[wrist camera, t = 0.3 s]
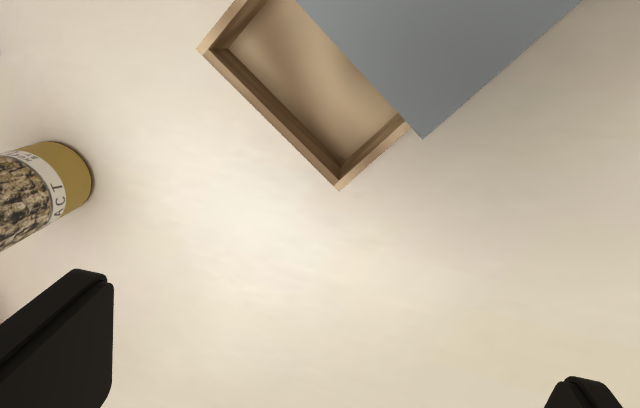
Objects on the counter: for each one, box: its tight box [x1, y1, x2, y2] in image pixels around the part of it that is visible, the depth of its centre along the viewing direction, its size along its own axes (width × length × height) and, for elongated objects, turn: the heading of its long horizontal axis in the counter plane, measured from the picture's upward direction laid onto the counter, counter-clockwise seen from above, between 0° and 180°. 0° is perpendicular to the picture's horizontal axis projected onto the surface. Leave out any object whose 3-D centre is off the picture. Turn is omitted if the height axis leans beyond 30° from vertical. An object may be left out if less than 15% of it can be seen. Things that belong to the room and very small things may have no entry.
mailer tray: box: [196, 0, 411, 191], centre depth 29 cm, size 19×14×5 cm
